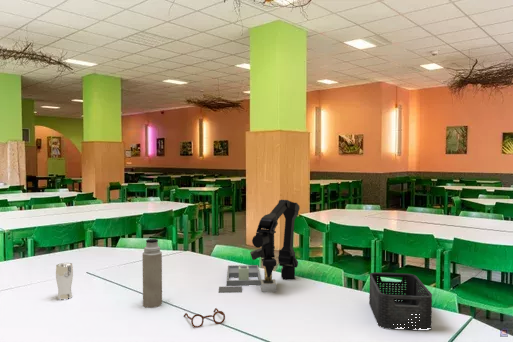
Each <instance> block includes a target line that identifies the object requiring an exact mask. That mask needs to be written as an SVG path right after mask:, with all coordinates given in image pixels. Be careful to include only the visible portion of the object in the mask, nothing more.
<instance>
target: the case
mask: <svg viewBox="0 0 513 342" xmlns="http://www.w3.org/2000/svg"><path fill="white" fill-rule="evenodd" d="M239 266H248V267H249V278H257V279H249V280H239V279H234V278H239ZM259 268H260V267H259V265H258V264H257V265H256V264H255V265H254V264H251V265H250V264H248V265H247V264H246V265H245V264H244V265H243V264H242V265H241V264H240V265H232V264H231V265H228V266H227V270H226V271H227V272H226V282H225V283H226V287H232V286H242V287H248V286H249V285H256V286H260V280H262V278H261V273H260V269H259ZM233 277H234V278H233ZM230 278H231V279H230ZM233 279H234V280H233Z"/></svg>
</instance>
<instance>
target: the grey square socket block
mask: <svg viewBox="0 0 513 342" xmlns="http://www.w3.org/2000/svg"><path fill="white" fill-rule="evenodd" d="M259 286H260V287H259V288H260V293H276V292H277V282H276V279H274V278H272V281H265V280H264V279H261V280H260V285H259Z"/></svg>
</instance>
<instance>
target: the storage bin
mask: <svg viewBox="0 0 513 342" xmlns="http://www.w3.org/2000/svg"><path fill="white" fill-rule="evenodd" d="M381 277H382V278H383V277H384V278H401V281H390V280H389V281H388V280H387V281H385V280H382V278H381ZM368 298H369V299H368V300H369V302H368V304H369V306H370V309H371V311H372V315H373V316H374V319H375V321H376V323H378V324H377V325H378V327H380V326H381V327H380V328H382V327H384V328H383V329H385V328H397V327H398V328H400V327H402V328H404V327H405V328H404V329H415V328H416V329H419V328H421V329H427V328H431V329H432V323H433V322H432V318H433V316H432V314H433V313H432V312H433V310H432V308H433V293H432V292H431V291H430V290H429V288H428V287H426V286H425V284H424V283H423V282H422V281H421V279H419V277H418V276H417V275H415V274H412V273H399V272H398V273H397V272H395V273H394V272H371V273H369V297H368ZM411 314H413V315H411ZM415 314H417V315H415ZM419 314H420V315H419ZM415 317H417V318H415ZM419 317H420V318H419ZM408 319H409V320H408ZM411 319H412V320H411ZM419 320H420V321H419ZM408 322H409V323H408ZM411 322H413V323H411ZM415 322H416V323H415ZM393 324H394V325H393ZM397 324H398V325H397ZM400 324H401V325H400ZM404 324H405V325H404ZM412 325H413V326H412ZM415 325H416V326H415ZM408 327H409V328H408Z"/></svg>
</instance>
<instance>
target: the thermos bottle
mask: <svg viewBox="0 0 513 342" xmlns="http://www.w3.org/2000/svg"><path fill="white" fill-rule="evenodd" d="M158 242H159V239H157V238H148V239H146V240H145V245H146V246H145V247H143V252H142V306H143V307H145V308H148V309H149V308H151V309H152V308H158V307H160V306H162V305H163V264H162V263H163V256H162V254H163V252H162V251H161V247H160V246H159V243H158Z"/></svg>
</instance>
